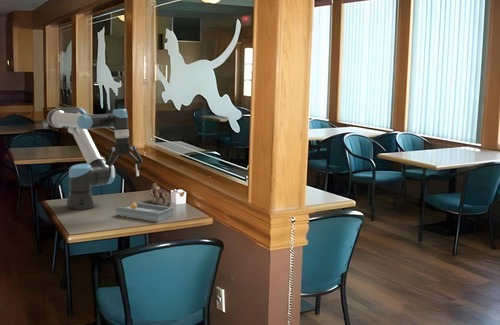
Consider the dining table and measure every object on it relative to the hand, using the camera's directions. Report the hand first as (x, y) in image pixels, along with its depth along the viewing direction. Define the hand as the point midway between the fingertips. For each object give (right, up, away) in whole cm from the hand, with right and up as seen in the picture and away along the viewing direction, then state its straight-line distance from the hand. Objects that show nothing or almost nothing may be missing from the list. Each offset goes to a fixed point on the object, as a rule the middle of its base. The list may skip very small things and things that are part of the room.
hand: (125, 176), depth 316 cm
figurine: (+16, -17, +20) cm, 30 cm away
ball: (+5, -16, -3) cm, 17 cm away
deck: (+11, -20, -5) cm, 24 cm away
